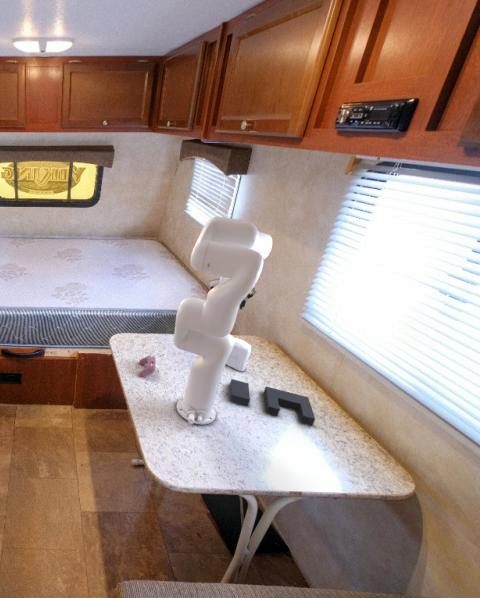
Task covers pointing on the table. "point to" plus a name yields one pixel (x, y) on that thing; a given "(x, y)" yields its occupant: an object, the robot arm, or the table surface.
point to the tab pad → (239, 392)
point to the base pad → (288, 404)
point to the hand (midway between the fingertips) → (227, 305)
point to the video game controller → (148, 365)
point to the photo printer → (239, 355)
